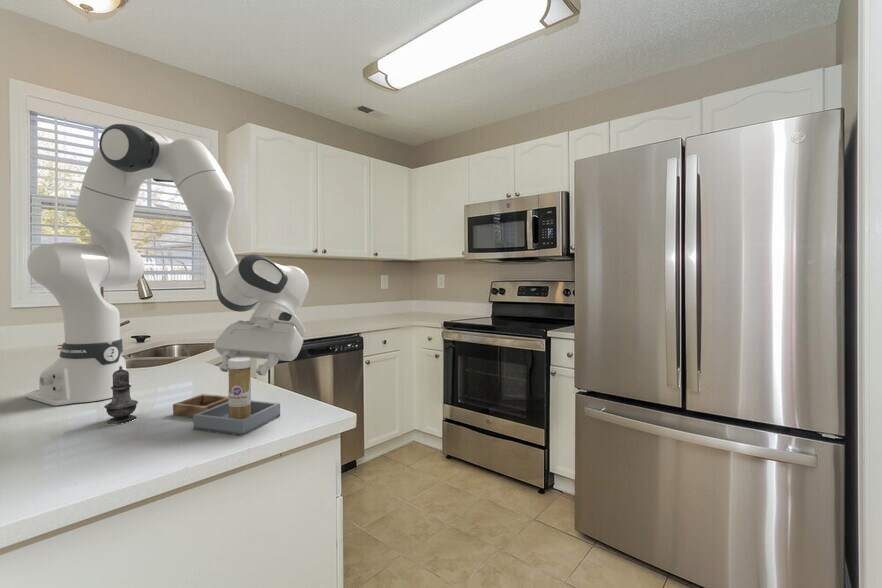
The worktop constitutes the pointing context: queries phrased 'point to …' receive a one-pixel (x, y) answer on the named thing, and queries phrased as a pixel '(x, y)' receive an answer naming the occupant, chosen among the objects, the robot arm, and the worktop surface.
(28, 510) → the worktop surface
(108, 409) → the salt shaker
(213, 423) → the slate tray
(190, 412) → the walnut collar
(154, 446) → the worktop surface
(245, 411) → the sprinkles bottle
